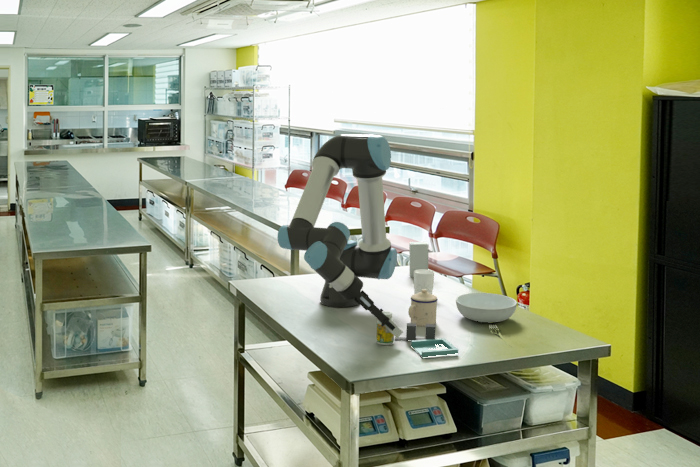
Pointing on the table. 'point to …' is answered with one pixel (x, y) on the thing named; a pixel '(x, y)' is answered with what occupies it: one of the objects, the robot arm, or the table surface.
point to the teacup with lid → (423, 308)
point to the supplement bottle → (384, 332)
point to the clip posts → (412, 332)
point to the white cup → (423, 280)
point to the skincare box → (418, 256)
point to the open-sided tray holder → (424, 345)
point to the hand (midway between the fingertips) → (396, 331)
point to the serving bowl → (486, 307)
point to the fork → (493, 326)
